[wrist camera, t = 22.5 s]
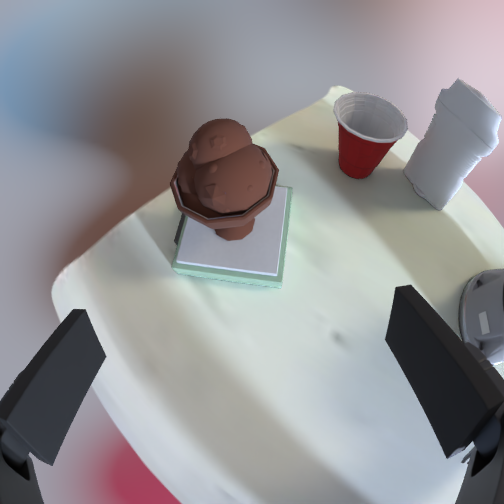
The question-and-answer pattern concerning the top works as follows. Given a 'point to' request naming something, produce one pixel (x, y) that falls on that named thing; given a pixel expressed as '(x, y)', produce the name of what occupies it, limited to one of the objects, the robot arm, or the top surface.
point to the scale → (238, 247)
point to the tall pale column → (453, 143)
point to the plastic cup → (366, 131)
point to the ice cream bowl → (224, 179)
